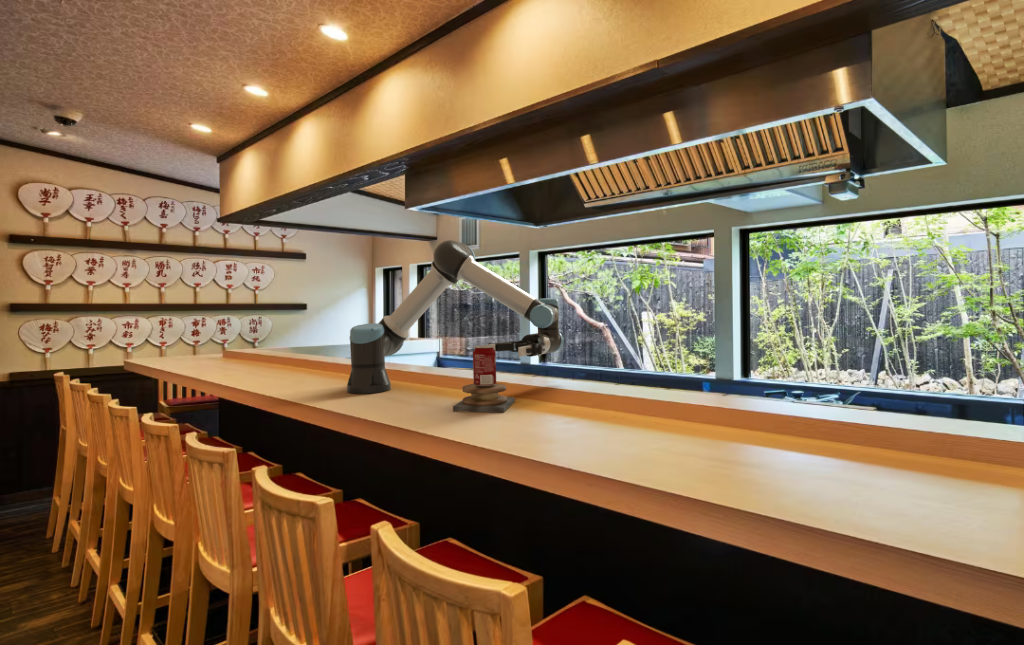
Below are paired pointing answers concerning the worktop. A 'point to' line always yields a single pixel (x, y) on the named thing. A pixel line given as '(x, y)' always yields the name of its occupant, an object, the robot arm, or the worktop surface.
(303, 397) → the worktop surface
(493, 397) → the spool
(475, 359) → the soda can
